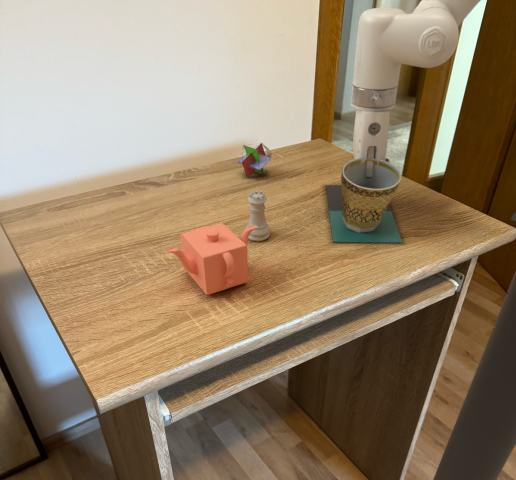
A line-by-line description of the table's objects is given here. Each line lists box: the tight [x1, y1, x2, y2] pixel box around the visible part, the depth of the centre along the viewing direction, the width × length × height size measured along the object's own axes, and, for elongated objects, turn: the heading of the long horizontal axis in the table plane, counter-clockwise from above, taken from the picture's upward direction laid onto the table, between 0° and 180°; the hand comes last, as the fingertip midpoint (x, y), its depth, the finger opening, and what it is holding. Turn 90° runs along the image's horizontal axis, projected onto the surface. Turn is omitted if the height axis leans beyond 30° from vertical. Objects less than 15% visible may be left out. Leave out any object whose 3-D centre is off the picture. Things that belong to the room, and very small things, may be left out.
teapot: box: [165, 222, 257, 296], centre depth 75 cm, size 12×15×8 cm
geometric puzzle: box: [237, 142, 273, 178], centre depth 107 cm, size 7×7×8 cm
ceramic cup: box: [340, 157, 402, 233], centre depth 87 cm, size 13×10×10 cm
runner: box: [325, 184, 403, 244], centre depth 95 cm, size 12×24×1 cm, turn 177°
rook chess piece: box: [245, 190, 271, 242], centre depth 85 cm, size 4×4×8 cm
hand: (361, 198), depth 95 cm, fingers closed
